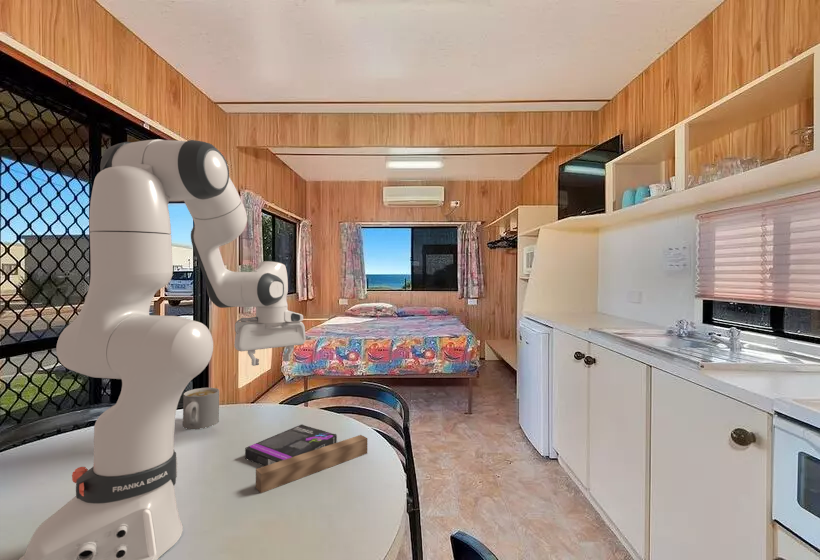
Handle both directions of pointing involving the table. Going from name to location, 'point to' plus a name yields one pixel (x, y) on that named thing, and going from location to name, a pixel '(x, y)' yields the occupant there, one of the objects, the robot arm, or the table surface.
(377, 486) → the table surface
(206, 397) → the coffee mug
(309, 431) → the box
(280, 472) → the walnut board
